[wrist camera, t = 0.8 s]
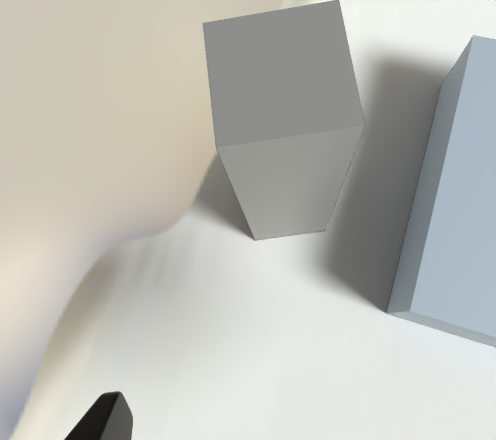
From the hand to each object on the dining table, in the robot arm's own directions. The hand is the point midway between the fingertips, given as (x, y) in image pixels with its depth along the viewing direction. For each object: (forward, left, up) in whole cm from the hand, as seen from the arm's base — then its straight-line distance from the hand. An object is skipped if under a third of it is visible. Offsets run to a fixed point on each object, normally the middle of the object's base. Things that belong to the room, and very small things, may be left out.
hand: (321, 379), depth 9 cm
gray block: (+6, -6, -13) cm, 16 cm away
